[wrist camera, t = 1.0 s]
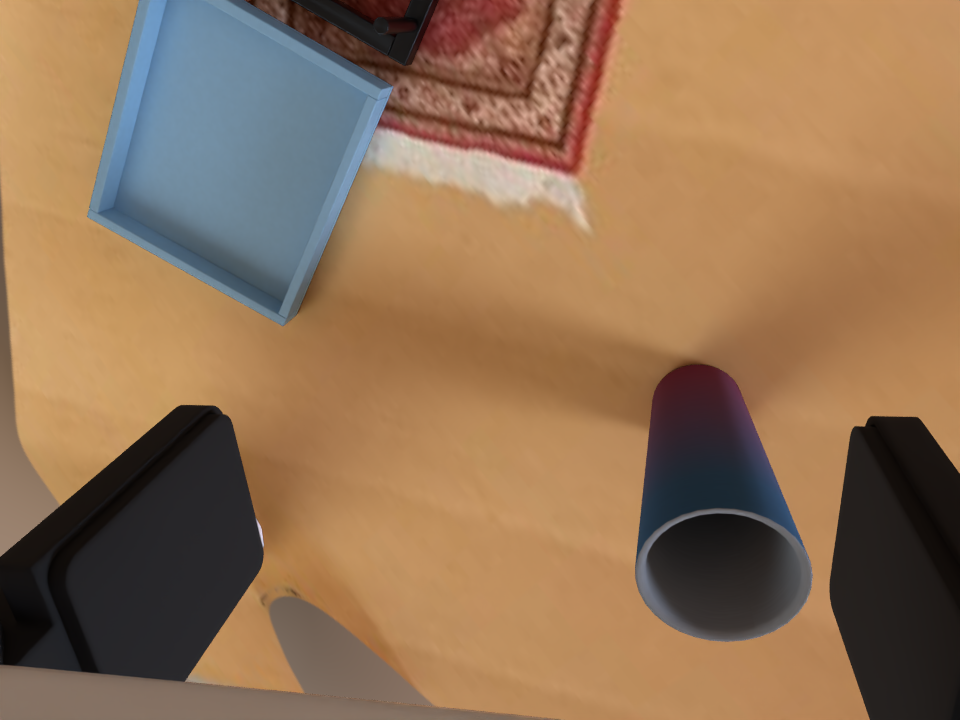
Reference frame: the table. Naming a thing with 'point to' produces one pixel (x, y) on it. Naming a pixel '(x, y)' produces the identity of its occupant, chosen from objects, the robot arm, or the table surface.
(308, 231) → the tray
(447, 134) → the table surface
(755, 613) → the cup
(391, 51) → the dish rack
